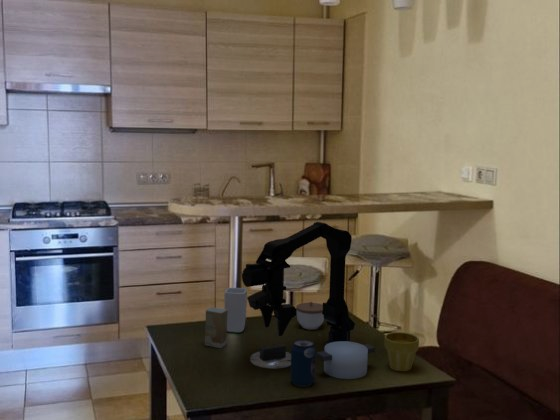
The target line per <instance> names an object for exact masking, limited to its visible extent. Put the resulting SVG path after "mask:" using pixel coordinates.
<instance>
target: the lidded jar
mask: <svg viewBox="0 0 560 420" xmlns="http://www.w3.org/2000/svg"><path fill="white" fill-rule="evenodd" d="M295 308H296V309H297V315H296V319H297V322H298V323H299V325H300V326H301V328H303V329H306V330H309V331H310V330H318V329H319V327H321V326H322V324H323V323H324V320H325V319H324V316H323V314H322V312H323V303H316V302H313V301H309V302H301V303H299V304H297V305H296V306H295Z"/></svg>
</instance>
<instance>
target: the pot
mask: <svg viewBox="0 0 560 420" xmlns="http://www.w3.org/2000/svg"><path fill="white" fill-rule="evenodd" d="M373 353H376V347H374V346H373V345H371V344H369V343H365V344H363V343H362V344H361V343H359V342H354V341H350V342H348V341H338V342H332V343H329V344H327V343H326V344H325V345H324V350H323V351H317V352H316V351H315V358H317V359H319V360H321V361H322V362H323V371H324V373H325V374H326V375H328V376H330V377H333V378H336V379H343V380H355V379H360V378H362V377H365V376H366V375H367V373H368V358H369V357H368V354H373Z"/></svg>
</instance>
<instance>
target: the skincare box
mask: <svg viewBox="0 0 560 420" xmlns="http://www.w3.org/2000/svg"><path fill="white" fill-rule="evenodd" d="M227 313H228V310H225V308H224V309H223V308H218V307H217V308H216V307H209V308H208V309H206V310H205V322H204V323H205V324H204V325H205V327H204V329H205V330H204V332H205V333H204V346H207V347H212V348H217V349H222V348H224V347H225V346H226V345H227V339H228V338H227V336H228V335H227V334H228V333H227V332H228V331H227Z"/></svg>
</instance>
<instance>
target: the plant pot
mask: <svg viewBox="0 0 560 420" xmlns="http://www.w3.org/2000/svg"><path fill="white" fill-rule="evenodd" d="M383 345H384V348H385V349H386V354H387V358H388V359H387V360H388V365H389V369H391V370H393V371H397V372H408V371H410V370H411V369H413V368H412V367H413V363H414V360H415V357H416V353H417V351H418V350H419V346H420V338H419V337H418V336H417V335H415V334H413V333H409V332H406V331H405V332H403V331H393V332H388V333H386V334H385V335H384V344H383Z"/></svg>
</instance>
